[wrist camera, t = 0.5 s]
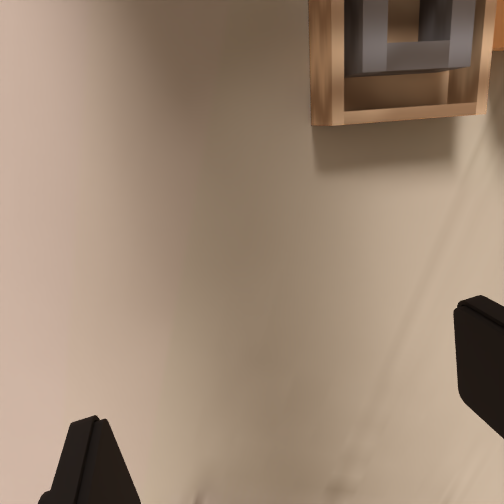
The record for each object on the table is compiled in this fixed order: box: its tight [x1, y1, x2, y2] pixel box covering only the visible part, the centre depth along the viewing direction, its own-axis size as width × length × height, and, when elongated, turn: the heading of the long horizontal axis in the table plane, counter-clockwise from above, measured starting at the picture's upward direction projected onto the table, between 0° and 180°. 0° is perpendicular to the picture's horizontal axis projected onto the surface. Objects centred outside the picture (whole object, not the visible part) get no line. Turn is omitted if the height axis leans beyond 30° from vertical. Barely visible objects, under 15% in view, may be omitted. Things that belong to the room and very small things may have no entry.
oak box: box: [308, 0, 497, 126], centre depth 35 cm, size 17×14×6 cm
